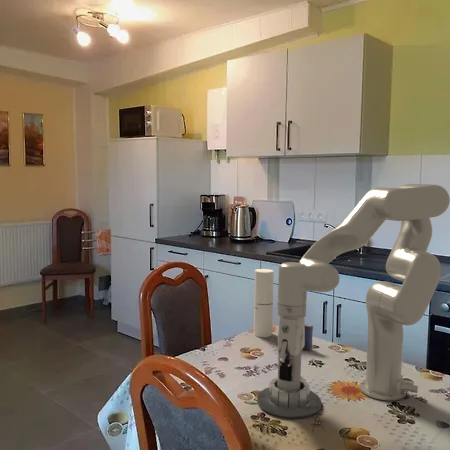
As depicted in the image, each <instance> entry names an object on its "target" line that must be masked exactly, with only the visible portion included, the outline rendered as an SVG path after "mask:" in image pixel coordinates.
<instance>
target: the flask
mask: <svg viewBox="0 0 450 450" xmlns="http://www.w3.org/2000/svg"><path fill="white" fill-rule="evenodd" d="M313 330H314V327H313V324H309V323H305V345H304V348H303V349H302V350H301V351H306V352H307V351H309V352H312V350H313V334H314V333H313V332H314V331H313Z"/></svg>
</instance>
